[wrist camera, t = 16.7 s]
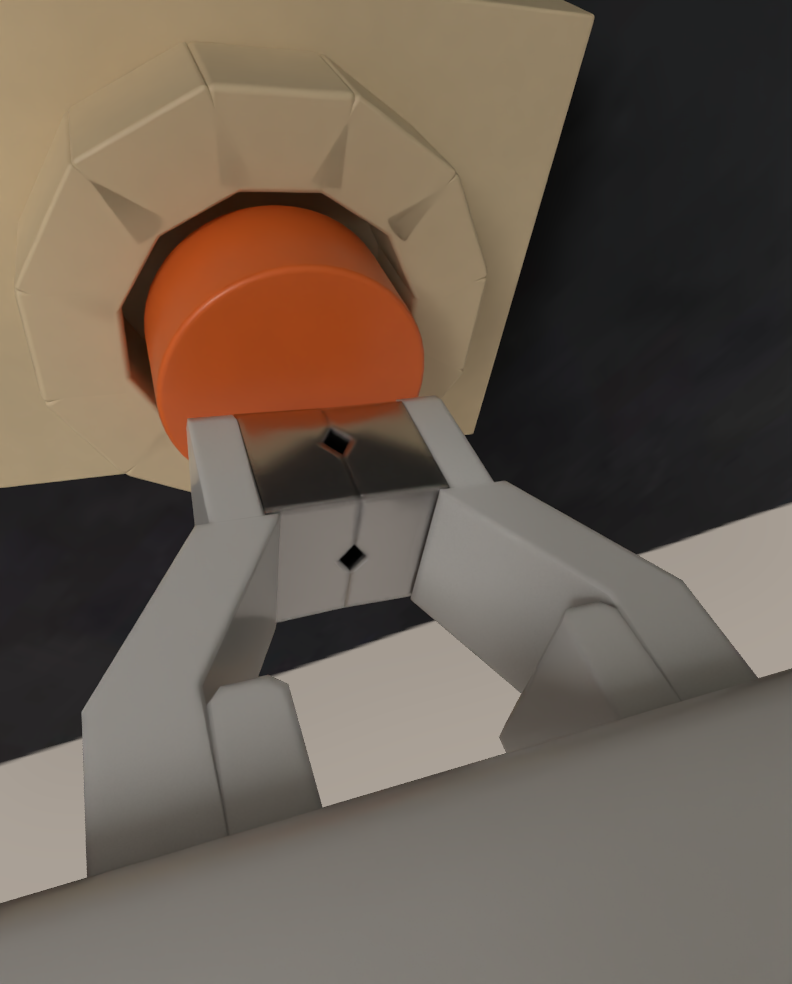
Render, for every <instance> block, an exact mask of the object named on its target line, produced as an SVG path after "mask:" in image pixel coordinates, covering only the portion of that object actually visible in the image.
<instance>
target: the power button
mask: <svg viewBox="0 0 792 984" xmlns="http://www.w3.org/2000/svg"><path fill="white" fill-rule="evenodd" d="M144 333H145V339H146V345H147V351H148V356H149V362H150V368H151V374H152V380H153V386H154V392H155V398H156V403H157V408H158V413H159V417H160V420H161V423H162V425H163V428H164V430H165V432H166V434H167V435H168V437H169V439H170V440H171V442H172V443H173V445H174V446H175V447H176V448H177V449H178V451H179V452H180V453H181V454H182V455H183V456H184V457H185V458H186V459H188V460H189V457H188V444H187V431H186V426H187V418H198V417H211V416H223V415H233V416H234V414H244V413H258V412H272V411H286V410H300V409H314V408H330V407H340V406H350V405H360V404H370V403H380V402H390V401H396V400H398V399H406V398H415V397H418V396H419V392H420V389H421V385H422V381H423V374H424V348H423V342H422V337H421V334H420V331H419V328H418V325H417V323H416V321H415V319H414V318H413V316H412V314H411V312H410V310H409V309H408V307H407V306H406V304H405V303H404V301H403V300H402V298H401V297H400V295H399V294H398V292H397V291H396V289H395V288H394V286H393V284H392V283H391V281H390V280H389V278H388V277H387V275H386V274H385V272H384V271H383V269H382V268H381V266H380V265H379V263H378V261H377V260H376V258H375V257H374V255H373V254H372V253H371V251H370V250H369V249H368V247H367V246H366V245H365V243H364V242H363V241H362V240H361V239H360V238H359V237H358V236H357V235H356V234H355V233H354V232H352V231H351V230H349V229H348V228H347V227H345V226H344V225H343V224H341V223H339V222H338V221H336V220H334V219H332V218H330V217H328V216H326V215H323V214H321V213H318V212H315V211H312V210H309V209H304V208H299V207H294V206H282V205H266V206H255V207H249V208H244V209H239V210H236V211H233V212H230V213H227V214H224V215H221V216H219V217H217V218H215V219H213V220H211V221H209V222H207V223H205V224H204V225H202V226H201V227H199V228H198V229H196V230H195V231H193V232H192V233H190V234H189V235H188V236H187V237H186V238H185V239H183V240H182V241H181V242H180V243H179V244H178V245H177V246H176V247H175V248H174V249H173V250H172V252H171V253H170V254H169V255H168V256H167V257H166V259H165V260H164V262H163V263H162V265H161V266H160V268H159V269H158V271H157V273H156V275H155V277H154V279H153V282H152V284H151V286H150V289H149V292H148V296H147V300H146V304H145V313H144Z"/></svg>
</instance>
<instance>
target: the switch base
mask: <svg viewBox="0 0 792 984" xmlns="http://www.w3.org/2000/svg"><path fill="white" fill-rule="evenodd" d="M593 22H594V15H593V14H591V13H589V12H587V11H585V10H583V9H581V8H579V7H577V6H575V5H572V4H570V3H568V2H566V1H564V0H0V488H4V487H13V486H22V485H31V484H39V483H48V482H57V481H65V480H74V479H83V478H92V477H100V476H109V475H118V474H127V475H129V476H131V477H135V478H139V479H143V480H147V481H151V482H154V483H158V484H162V485H166V486H170V487H174V488H177V489H181V490H185V491H189V492H191V483H190V470H189V460H188V459H186V458H185V457H184V456H183V455H182V454H181V453H180V452H179V451H178V449H177V448H176V447H175V446H174V445H173V443H172V442H171V440H170V439H169V437H168V435H167V434H166V432H165V430H164V428H163V425H162V423H161V420H160V417H159V413H158V408H157V403H156V398H155V392H154V386H153V380H152V374H151V368H150V362H149V356H148V351H147V345H146V339H145V333H144V313H145V304H146V300H147V296H148V292H149V289H150V286H151V284H152V282H153V279H154V277H155V275H156V273H157V271H158V269H159V268H160V266H161V265H162V263H163V262H164V260H165V259H166V257H167V256H168V255H169V254H170V253H171V252H172V250H173V249H174V248H175V247H176V246H177V245H178V244H179V243H180V242H181V241H182V240H183V239H185V238H186V237H187V236H188V235H189V234H190V233H192V232H193V231H195V230H196V229H198V228H199V227H201V226H202V225H204V224H205V223H207V222H209V221H211V220H213V219H215V218H217V217H219V216H221V215H224V214H227V213H230V212H233V211H236V210H239V209H244V208H249V207H255V206H266V205H282V206H294V207H299V208H304V209H309V210H312V211H315V212H318V213H321V214H323V215H326V216H328V217H330V218H332V219H334V220H336V221H338V222H339V223H341V224H343V225H344V226H345V227H347V228H348V229H349V230H351V231H352V232H354V233H355V234H356V235H357V236H358V237H359V238H360V239H361V240H362V241H363V242H364V243H365V245H366V246H367V247H368V249H369V250H370V251H371V253H372V254H373V255H374V257H375V258H376V260H377V261H378V263H379V265H380V266H381V268H382V269H383V271H384V272H385V274H386V275H387V277H388V278H389V280H390V281H391V283H392V284H393V286H394V288H395V289H396V291H397V292H398V294H399V295H400V297H401V298H402V300H403V301H404V303H405V304H406V306H407V307H408V309H409V310H410V312H411V314H412V316H413V318H414V319H415V321H416V323H417V325H418V328H419V331H420V334H421V337H422V342H423V348H424V374H423V381H422V385H421V389H420V392H419V396H418V397H423V396H432V395H435V396H437V397H438V398H440V399H442V401H443V402H444V404H445V406H446V407H447V409H448V410H449V412H450V413H451V415H452V417H453V418H454V420H455V421H456V423H457V424H458V426H459V428H460V429H461V431H462V432H463V434H464V435H468V434H473V432H474V429H475V426H476V422H477V419H478V415H479V412H480V409H481V405H482V402H483V398H484V395H485V391H486V388H487V385H488V381H489V378H490V374H491V371H492V367H493V364H494V361H495V357H496V354H497V350H498V347H499V344H500V340H501V337H502V333H503V330H504V326H505V323H506V320H507V316H508V313H509V309H510V306H511V302H512V299H513V296H514V292H515V289H516V285H517V282H518V279H519V275H520V272H521V268H522V265H523V261H524V258H525V255H526V251H527V248H528V244H529V241H530V237H531V234H532V231H533V227H534V224H535V220H536V217H537V214H538V210H539V207H540V203H541V200H542V196H543V193H544V190H545V186H546V183H547V179H548V176H549V172H550V169H551V166H552V162H553V159H554V155H555V152H556V149H557V145H558V142H559V138H560V135H561V131H562V128H563V125H564V121H565V118H566V114H567V111H568V107H569V104H570V101H571V97H572V94H573V90H574V87H575V84H576V80H577V77H578V73H579V70H580V66H581V63H582V60H583V56H584V53H585V49H586V46H587V42H588V39H589V36H590V32H591V29H592V25H593Z"/></svg>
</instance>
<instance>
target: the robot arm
mask: <svg viewBox="0 0 792 984" xmlns="http://www.w3.org/2000/svg"><path fill="white" fill-rule="evenodd" d="M186 431H187V444H188V457H189V470H190V483H191V495H192V504H193V512H194V521H195V527H194V528H193V530H192V532H191V533H190V535H189V537H188V538H187V540H186V541H185V543H184V545H183V546H182V548H181V550H180V551H179V553H178V555H177V556H176V558H175V560H174V561H173V563H172V564H171V566H170V568H169V569H168V571H167V573H166V574H165V576H164V578H163V579H162V581H161V582H160V584H159V586H158V587H157V589H156V591H155V592H154V594H153V596H152V597H151V599H150V601H149V602H148V604H147V605H146V607H145V609H144V610H143V612H142V614H141V615H140V617H139V619H138V620H137V622H136V624H135V625H134V627H133V628H132V630H131V632H130V633H129V635H128V637H127V638H126V640H125V642H124V643H123V645H122V647H121V648H120V650H119V651H118V653H117V655H116V656H115V658H114V660H113V661H112V663H111V665H110V666H109V668H108V670H107V671H106V673H105V674H104V676H103V678H102V679H101V681H100V683H99V684H98V686H97V688H96V689H95V691H94V693H93V694H92V696H91V697H90V699H89V701H88V702H87V704H86V706H85V707H84V709H83V711H82V736H83V767H84V797H85V826H86V827H85V828H86V858H87V878H84V879H81V880H78V881H74V882H71V883H67V884H64V885H61V886H57V887H54V888H51V889H47V890H44V891H41V892H37V893H34V894H31V895H27V896H23V897H20V898H17V899H13V900H10V901H7V902H3V903H0V984H792V669H788V670H785V671H782V672H778V673H775V674H771V675H768V676H765V677H761V678H758V677H757V676H756V675H755V674H754V672H753V671H752V670H751V668H750V667H749V666H748V665H747V663H746V662H745V661H744V660H743V658H742V657H741V655H740V654H739V653H738V652H737V650H736V649H735V648H734V646H733V645H732V644H731V643H730V641H729V640H728V639H727V637H726V636H725V635H724V634H723V632H722V631H721V630H720V629H719V627H718V626H717V625H716V623H715V622H714V621H713V620H712V618H711V617H710V616H709V614H708V613H707V612H706V610H705V609H704V608H703V606H702V605H701V604H700V603H699V601H698V600H697V599H696V598H695V596H694V595H693V594H692V592H691V591H690V590H689V588H688V587H687V586H686V585H685V583H684V582H683V581H682V580H681V579H679V578H677V577H675V576H674V575H671V574H670V573H668V572H666V571H664V570H663V569H661V568H659V567H658V566H655V565H654V564H652V563H650V562H649V561H647V560H645V559H643V558H642V557H640V556H638V555H636V554H634V553H633V552H631V551H629V550H627V549H626V548H624V547H622V546H620V545H619V544H617V543H615V542H613V541H611V540H610V539H608V538H606V537H604V536H603V535H601V534H599V533H597V532H595V531H594V530H592V529H590V528H588V527H587V526H585V525H583V524H581V523H579V522H578V521H576V520H574V519H572V518H571V517H569V516H567V515H565V514H563V513H562V512H560V511H558V510H556V509H555V508H553V507H551V506H549V505H547V504H546V503H544V502H542V501H540V500H539V499H537V498H535V497H533V496H531V495H530V494H528V493H526V492H524V491H523V490H521V489H519V488H517V487H516V486H514V485H512V484H510V483H508V482H507V481H499V482H494V481H493V479H492V478H491V476H490V475H489V473H488V472H487V470H486V468H485V467H484V465H483V464H482V462H481V461H480V459H479V457H478V456H477V454H476V453H475V451H474V450H473V448H472V446H471V445H470V443H469V442H468V440H467V439H466V437H465V435H464V434H463V432H462V431H461V429H460V428H459V426H458V424H457V423H456V421H455V420H454V418H453V417H452V415H451V413H450V412H449V410H448V409H447V407H446V406H445V404H444V402H443V401H442V399H440V398H438V397H437V396H435V395H432V396H423V397H415V398H406V399H398V400H396V401H390V402H380V403H370V404H360V405H350V406H340V407H330V408H314V409H300V410H286V411H272V412H258V413H244V414H234V416H233V415H223V416H211V417H198V418H187V426H186ZM408 596H411V600H412V601H413V602H414V603H415V604H417V605H418V606H419V607H420V608H421V609H422V610H424V611H425V612H426V613H427V614H428V615H430V616H431V617H432V618H433V619H434V620H435V621H437V622H438V623H439V624H440V625H441V626H442V627H444V628H445V629H446V630H447V631H449V632H450V633H451V634H452V635H453V636H454V637H456V638H457V639H458V640H459V641H460V642H461V643H463V644H464V645H465V646H466V647H467V648H468V649H470V650H471V651H472V652H473V653H474V654H475V655H477V656H478V657H479V658H480V659H481V660H483V661H484V662H485V663H486V664H487V665H488V666H490V667H491V668H492V669H493V670H494V671H496V672H497V673H498V674H499V675H500V676H501V677H503V678H504V679H505V680H506V681H507V682H509V683H510V684H511V685H512V686H513V687H514V688H516V689H517V690H518V691H519V692H520V693H521V696H520V697H519V699H518V701H517V703H516V705H515V707H514V709H513V711H512V713H511V714H510V716H509V718H508V720H507V722H506V724H505V726H504V728H503V730H502V732H501V735H500V737H499V738H500V740H501V742H502V744H503V747H504V749H505V751H506V753H505V754H502V755H498V756H495V757H492V758H488V759H485V760H482V761H478V762H475V763H471V764H468V765H465V766H461V767H458V768H455V769H451V770H448V771H445V772H441V773H438V774H434V775H431V776H428V777H424V778H421V779H418V780H414V781H411V782H407V783H404V784H401V785H398V786H394V787H390V788H388V789H384V790H381V791H377V792H374V793H370V794H367V795H363V796H360V797H357V798H353V799H350V800H347V801H344V802H340V803H336V804H333V805H330V806H326V807H323V808H322V804H321V801H320V797H319V793H318V790H317V786H316V783H315V779H314V776H313V772H312V768H311V764H310V761H309V757H308V754H307V750H306V746H305V743H304V739H303V736H302V732H301V728H300V725H299V721H298V718H297V714H296V711H295V707H294V703H293V700H292V696H291V692H290V689H289V685H288V684H287V683H285V682H283V681H281V680H278V679H276V678H274V677H272V676H270V675H266V676H261V677H258V675H259V672H260V670H261V667H262V664H263V661H264V659H265V656H266V653H267V650H268V648H269V645H270V642H271V639H272V636H273V634H274V631H275V628H276V623H277V622H282V621H286V620H290V619H295V618H299V617H304V616H308V615H313V614H317V613H321V612H326V611H330V610H335V609H339V608H344V607H350V606H356V605H361V604H367V603H373V602H379V601H385V600H391V599H397V598H402V597H408Z"/></svg>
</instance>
